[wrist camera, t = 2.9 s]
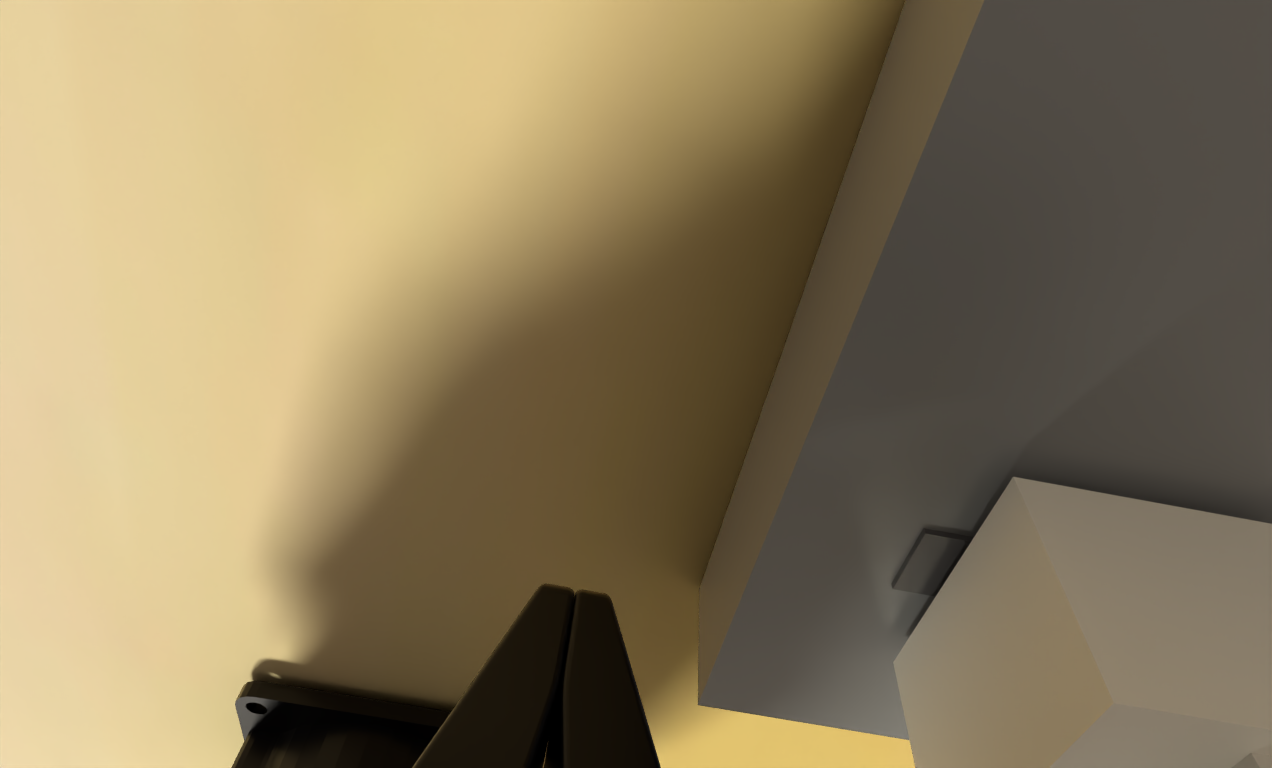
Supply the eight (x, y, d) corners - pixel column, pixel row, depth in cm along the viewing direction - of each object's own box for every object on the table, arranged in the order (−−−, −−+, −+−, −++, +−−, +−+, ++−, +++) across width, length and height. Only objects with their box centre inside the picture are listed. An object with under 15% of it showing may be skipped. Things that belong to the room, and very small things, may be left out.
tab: (893, 662, 12) (950, 934, 9) (1013, 476, 10) (1143, 767, 7) (1143, 704, 12) (1276, 985, 9) (1322, 533, 10) (1575, 840, 7)
